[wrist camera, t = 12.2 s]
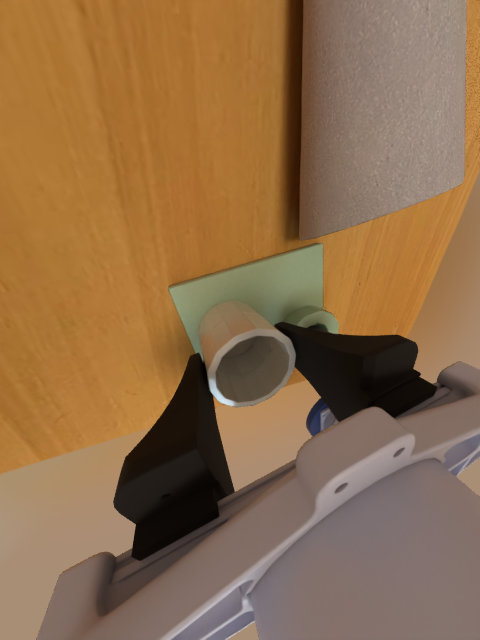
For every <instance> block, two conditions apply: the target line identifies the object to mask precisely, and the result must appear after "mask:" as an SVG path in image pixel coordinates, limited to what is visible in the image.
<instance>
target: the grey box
mask: <svg viewBox="0 0 480 640" xmlns="http://www.w3.org/2000/svg"><path fill="white" fill-rule="evenodd" d="M466 9H467V0H303V54H302V121H301V166H300V221H299V240H301V241H302V240H308V239H312V238H316V237H320V236H323V235H327V234H330V233H334V232H337V231H340V230H343V229H346V228H349V227H352V226H355V225H358V224H361V223H364V222H367V221H370V220H373V219H376V218H379V217H382V216H384V215H387V214H390V213H393V212H396V211H398V210H401V209H404V208H406V207H409V206H412V205H414V204H417V203H420V202H422V201H425V200H427V199H430V198H432V197H435V196H437V195H439V194H442V193H444V192H446V191H449V190H451V189H453V188H455V187H457V186H459V185H460V184H462V183H463V181H464V175H465V93H466Z"/></svg>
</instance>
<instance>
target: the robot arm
mask: <svg viewBox="0 0 480 640" xmlns="http://www.w3.org/2000/svg"><path fill="white" fill-rule="evenodd" d="M274 325H275V326H276V327H277V328H278V329H279V330H280V331H282V332H283V333H284V334H285V335H286V336H287V337H289V338H290V339H291V342H292V344H293V347H294V349H295V352H296V359H295V367H296V368H297V369H298V371H299V372H300V373H301V374H302V375H303V376H304V377H305V378H306V379H307V380H308V381H309V382H310V384H311V385H312V386H313V387H314V389H315V390H316V391H317V392H318V394H319V395H320V396H321V398H322V399H323V400H324V402H325V403H326V404H327V406H328V408H326V409H324V410H322V411H321V412H320V433H318V434H316V435H315V436H313V437H312V438H311V439H309V440H308V441H306V442H305V443H304V444H303V446H302V447H301V448H300V450H299V451H298V454H297V457H296V459H295V460H293V461H291V462H289V463H287V464H286V465H284V466H282V467H280V468H278V469H277V470H275V471H273V472H271V473H269V474H267V475H266V476H264V477H262V478H260V479H258V480H256V481H254V482H253V483H251V484H249V485H247V486H245V487H243V488H242V489H240V490H238V491H236V492H235V491H234V487H233V484H232V480H231V476H230V473H229V469H228V465H227V461H226V457H225V453H224V449H223V445H222V441H221V437H220V433H219V429H218V425H217V421H216V414H215V407H214V400H213V394H212V393H211V392H210V391H209V388H208V383H207V378H206V373H205V368H204V363H203V360H202V358H201V356H200V353H196V354H193V355H191V356H190V357H189V361H188V364H187V367H186V370H185V372H184V375H183V377H182V380H181V382H180V384H179V386H178V388H177V390H176V392H175V394H174V396H173V398H172V400H171V401H170V403H169V405H168V406H167V408H166V409H165V411H164V412H163V413H162V415H161V416H160V418H159V419H158V420H157V422H156V423H155V424H154V426H153V427H152V428H151V429H150V431H149V432H148V433H147V434H146V435H145V437H144V438H143V439H142V440H141V441H140V442H139V443H138V444H137V446H136V447H135V448H134V449H133V450H132V451H131V452H130V453H129V454H128V455H127V456H126V458H125V460H124V463H123V467H122V470H121V473H120V477H119V481H118V485H117V489H116V493H115V497H114V501H113V503H114V507H115V509H116V510H117V511H118V512H119V513H120V514H121V515H123V516H124V517H126V518H127V519H129V520H130V521H132V522H133V523H135V524H136V528H135V534H134V541H133V548H132V549H130V550H128V551H126V552H124V553H122V554H121V555H119V556H117V557H115V556H114V555H113V554H112V553H110V552H101V553H98V554H96V555H93V556H92V557H89V558H88V559H86V560H84V561H82V562H80V563H78V564H76V565H75V566H73V567H71V568H69V569H67V570H65V571H63V572H62V574H60V575H59V578H58V580H57V583H56V586H55V589H54V592H53V594H52V597H51V600H50V603H49V605H48V608H47V611H46V614H45V617H44V619H43V622H42V625H41V628H40V630H39V633H38V636H37V639H36V640H227V639H228V638H230V637H231V636H233V635H235V634H236V633H238V632H239V631H241V630H243V629H244V628H246V627H247V626H249V625H250V624H252V623H254V622H256V627H257V632H258V637H259V640H480V497H479V496H478V495H477V494H476V493H475V492H473V491H472V490H471V489H470V488H469V487H467V486H466V485H465V484H464V483H463V482H461V481H460V480H459V479H458V478H457V477H456V476H457V475H458V474H460V473H461V472H462V471H463V470H465V469H466V468H467V467H469V466H470V465H471V464H472V463H474V462H475V461H476V460H477V459H479V458H480V369H477V368H475V367H472V366H470V365H468V364H465V363H463V362H461V361H459V362H456V363H454V364H452V365H450V366H448V367H447V368H445V369H444V370H442V371H441V372H440V374H439V376H438V378H437V382H436V383H434V384H431V383H429V382H428V381H426V380H424V379H422V378H420V377H419V376H420V375H421V374H420V372H418V371H416V370H414V369H413V367H414V364H415V361H416V358H417V354H418V347H417V344H416V343H415V342H413V341H411V340H409V339H407V338H404V337H402V336H400V335H381V336H356V335H342V334H334V333H327V332H321V331H317V330H312V329H308V328H304V327H301V326H297V325H293V324H290V323H286V322H279V323H276V324H274Z"/></svg>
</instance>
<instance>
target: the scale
mask: <svg viewBox="0 0 480 640" xmlns="http://www.w3.org/2000/svg"><path fill="white" fill-rule="evenodd" d="M168 290H169V293H170V295H171V297H172V300H173V302H174V304H175V307H176V309H177V311H178V314H179V316H180V318H181V321H182V323H183V325H184V328H185V330H186V332H187V335H188V337H189V339H190V342H191V344H192V346H193V349H194V351H195V353H200V356H201V358H202V354H201V349H200V343H199V336H198V330H199V325H200V322H201V320H202V318H203V317H204V315H205V314H206V313H207V312H208V311H209V310H210V309H211V308H212V307H214V306H215V305H217V304H219V303H222V302H225V301H231V300H236V301H241V302H244V303H247V304H248V305H250V306H251V307H252V308H254V309H255V310H257V311H258V312H259V313H260V314H261V315H263V316H264V317H265V318H266V319H267V320H269V321H270V322H271V323H272V324H273V325H274V324H276V323H279V322H286V323H290V324H293V325H297V326H301V327H304V328H308V327H310V326H313V325H318V326H320V327H322V328H324V329H325V330H327V331H329V332H331V333H334V334H338V322H337V320H336V319H335V317H334V316H333V314H332V313H330V312H328V311H326V310H324V309H323V243H315V244H311V245H308V246H304V247H301V248H297V249H294V250H291V251H287V252H284V253H280V254H277V255H273V256H270V257H267V258H263V259H260V260H256V261H253V262H249V263H246V264H243V265H239V266H236V267H232V268H229V269H225V270H222V271H219V272H215V273H212V274H208V275H205V276H201V277H198V278H195V279H191V280H188V281H184V282H181V283H177V284H174V285H171V286H169V287H168ZM274 326H275V325H274ZM202 360H203V359H202Z"/></svg>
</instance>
